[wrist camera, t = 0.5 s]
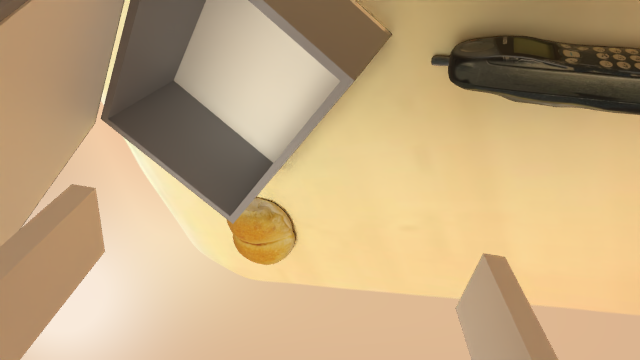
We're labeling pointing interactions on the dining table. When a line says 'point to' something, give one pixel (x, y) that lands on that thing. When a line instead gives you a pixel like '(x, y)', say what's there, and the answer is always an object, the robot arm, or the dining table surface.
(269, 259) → the bread roll
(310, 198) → the dining table surface
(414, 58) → the dining table surface
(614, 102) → the black elongated piece
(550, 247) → the dining table surface
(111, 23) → the box lid
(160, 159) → the box
